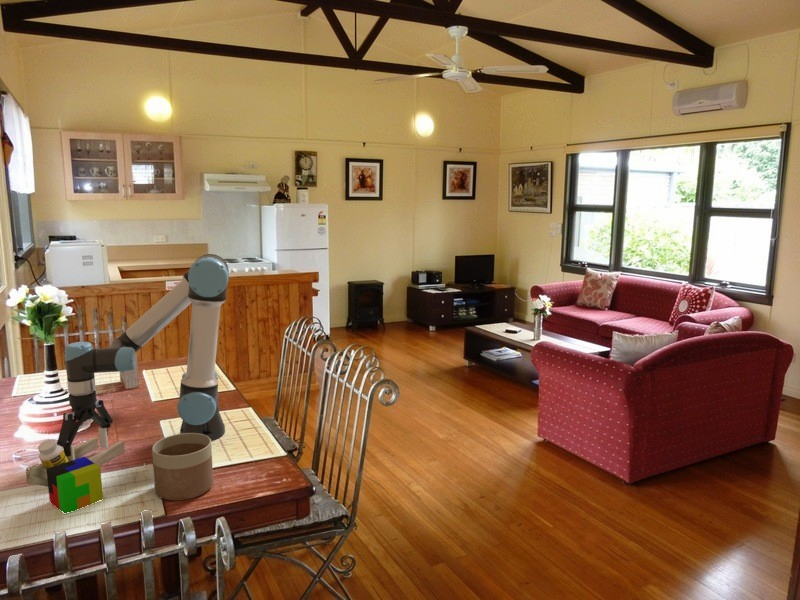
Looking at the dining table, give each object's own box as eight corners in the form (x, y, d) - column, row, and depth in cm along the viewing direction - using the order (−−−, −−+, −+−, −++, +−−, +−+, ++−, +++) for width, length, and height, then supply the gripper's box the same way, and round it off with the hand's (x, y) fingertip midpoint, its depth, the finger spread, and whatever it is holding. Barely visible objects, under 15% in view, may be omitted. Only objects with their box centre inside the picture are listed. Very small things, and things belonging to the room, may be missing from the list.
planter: (165, 476, 179) (162, 433, 176) (218, 474, 180) (216, 432, 178) (147, 503, 163) (143, 456, 161) (205, 501, 165) (203, 455, 162)
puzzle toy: (87, 488, 171) (84, 456, 169) (103, 500, 165) (100, 466, 163) (49, 502, 164) (46, 468, 162) (65, 515, 157) (61, 480, 155)
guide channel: (124, 451, 195) (123, 437, 194) (59, 488, 171) (58, 472, 170) (94, 446, 199) (93, 432, 198) (27, 482, 174) (25, 467, 173)
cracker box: (119, 381, 266) (115, 336, 262) (133, 379, 269) (130, 334, 266) (124, 390, 255) (120, 343, 251) (139, 387, 258) (136, 341, 254)
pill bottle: (61, 481, 175) (47, 453, 170) (44, 478, 177) (29, 451, 171) (76, 465, 180) (62, 438, 175) (59, 463, 182) (45, 436, 177)
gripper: (102, 378, 197) (107, 438, 201) (38, 404, 173) (45, 471, 177) (121, 380, 195) (126, 441, 199) (59, 406, 171) (66, 475, 175)
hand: (88, 455), depth 188 cm, fingers open, 13 cm apart
